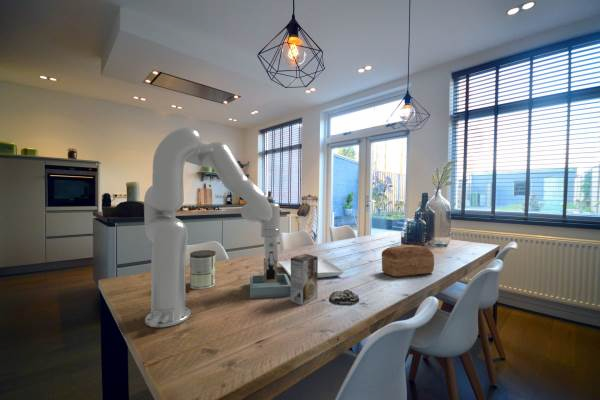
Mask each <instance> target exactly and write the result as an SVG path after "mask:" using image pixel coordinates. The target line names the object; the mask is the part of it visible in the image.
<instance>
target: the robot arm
mask: <svg viewBox="0 0 600 400" xmlns="http://www.w3.org/2000/svg"><path fill="white" fill-rule="evenodd" d="M186 163H189V164H192V165H197V166H200V167H203V168H212V169H213V171H214V172H215V173H216V175H217V177H218V178H219V179H220V181H221V183H222V185H223V186H224V188H225V189H226V190H228V191H229V192H230V193H233V194H234V195H237V196H238V197H239V198H241V199H242V200H243V201H244V202H245V204H244V205H242V207H241V209H240V215H241V217H242V218H243V219H244V220H246V221H247V222H250V223H251V222H252V223H260V226H261V227H260V228H261V229H260V234H261V235H260V237H261V238H263V251H264V253H263V254H264V258H265V260H266V262H267V280H269V279H275V269H274V260H275V261H276V262H277V263H278V262H279V258H278V257H279V255H278V252H279V251H278V246H279V245H278V238H279V237H280V231H281V229H280V223H281V222H280V219H281V218H280V217H281V216H280V212H281V209H280V204H279V203H277V202H269V200H268V199H267V197H266V195H265V194H264V192H263V191H262V189H260V188H259V187H258V185H256V184H255V183H254V182H253V181H252V180H251V179H250V178H248V177H247V175H246V174H245V173H244V171H243V169H242V168H241V166H240V164H239V162H238V161H237V159H236V158H235V156H234V154H233V152H232V151H231V149H230V148H229V146H228V145H227V144H226V143H224V142H221V141H215V142H210V143H208V144H207V143H203V142H202V138H201V135H200V134H199V132H198V131H197V130H196V129H194V128H192V127H180V128H178V129H176V130H172V132H170V133H169V134H167V135H166V136H165V137H163V139H162V140H161V142H159V144H158V146H157V147H156V149H155V151H154V155H153V160H152V178H151V179H152V182H151V183H152V184H151V185H150V187H148V189H147V190H146V192H145V194H144V199H143V200H144V201H143V202H144V203H143V204H144V205H143V210H144V211H143V213H144V218H143V219H144V230H145V234H146V237H147V239H148V240H149V241H150V242H152V251H151V265H150V266H151V267H150V271H151V272H150V273H151V279H150V280H151V282H150V286H151V287H150V288H151V291H150V294H151V296H150V297H151V299H150V300H151V301H150V302H151V303H150V305H151V306H150V310H151V311H150V313H148V314H147V315H146V316H145V318H144V324H145V325H146V326H149V327H151V328H167V327H172V326H175V325H179V324H182V323H183V322H185V321H186V320H188V319H189V318H190V317H191V309H190V308H188V307H186V260H187V259H186V256H187V255H186V254H187V247H188V241H189V240H188V239H189V230H188V228H187V226H186V224H185V223H184V222H183V220H181V219H179V218H177V217H176V212H177V211H178V210H180V209H181V208H182V206H183V205H184V201H185V195H184V167H185V164H186ZM268 260H270V262H268ZM269 263H270V264H269Z"/></svg>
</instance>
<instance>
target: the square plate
mask: <svg viewBox="0 0 600 400" xmlns="http://www.w3.org/2000/svg"><path fill="white" fill-rule="evenodd" d="M277 264H279V265H280V267H282V268H283V270H284V271H285V272H286V274H287V276H289V278H291V259H289V260H280V261H279V260H278V261H277ZM344 273H345V270H343V269H341V268H340V267H338V266H337V265H336V264H334V263H332V262H331V261H329V260H328V259H327V260H326V259H325V258H318V279H321V278H331V277H337V276H341V275H342V274H344Z"/></svg>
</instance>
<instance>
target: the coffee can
mask: <svg viewBox="0 0 600 400" xmlns="http://www.w3.org/2000/svg"><path fill="white" fill-rule="evenodd" d="M189 257H190V258H189V260H190V261H189V262H190V264H189V267H190V268H189V272H190V273H189V275H190V276H189V287H190V289H193V290H206V289H210V288H212V287H214V286H215V285H216V251H214V250H210V249H204V250H195V251H192V252H190V253H189Z"/></svg>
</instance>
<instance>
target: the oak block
mask: <svg viewBox="0 0 600 400" xmlns="http://www.w3.org/2000/svg"><path fill="white" fill-rule="evenodd" d="M268 262H270V260H268ZM269 264H270V263H269ZM274 269H275V279H269V280H267V262H266V260H265V257H264V258H263V275H264V283H277V274H278V272H277V271H278V261H277V262H276V261H275V260H274Z"/></svg>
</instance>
